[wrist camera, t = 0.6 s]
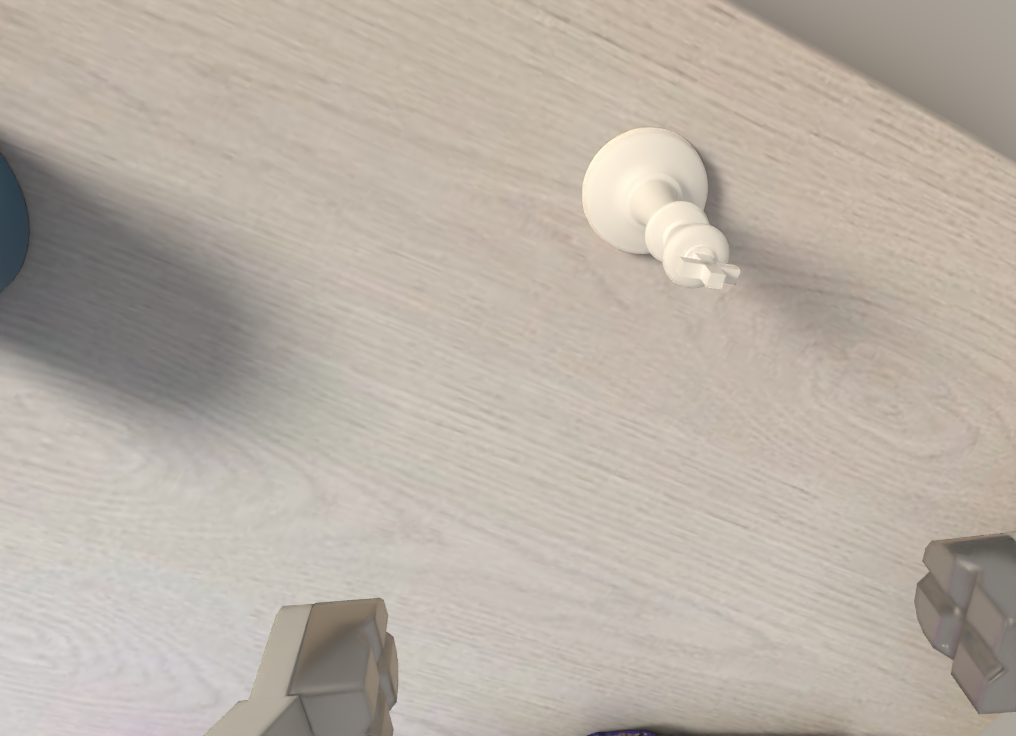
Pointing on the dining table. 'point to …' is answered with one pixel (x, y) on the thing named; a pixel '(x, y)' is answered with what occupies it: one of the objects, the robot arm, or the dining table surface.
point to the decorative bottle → (624, 733)
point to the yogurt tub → (11, 226)
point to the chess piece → (657, 206)
